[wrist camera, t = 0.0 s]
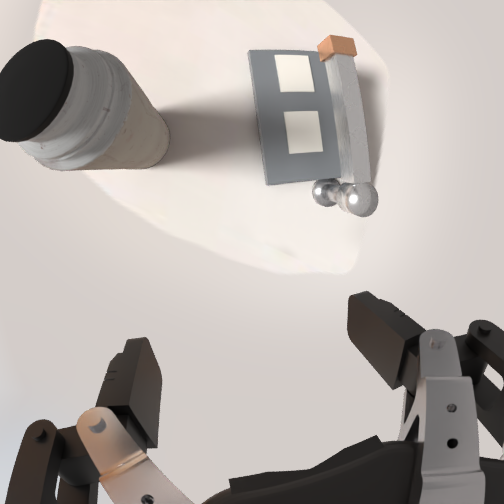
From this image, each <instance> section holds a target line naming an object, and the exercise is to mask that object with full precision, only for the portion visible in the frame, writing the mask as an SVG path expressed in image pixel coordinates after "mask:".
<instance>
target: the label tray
mask: <svg viewBox="0 0 504 504" xmlns="http://www.w3.org/2000/svg"><path fill="white" fill-rule="evenodd" d="M248 59H249V65H250V72H251V79H252V85H253V92H254V99H255V106H256V113H257V120H258V127H259V135H260V142H261V150H262V157H263V165H264V173H265V181H266V185H276V184H284V183H292V182H300V181H310V180H319V179H329V178H340V177H341V168H340V158H339V149H338V140H337V132H336V125H335V117H334V111H333V104H332V98H331V92H330V86H329V81H328V75H327V70H326V65H325V62H320V57H319V52H315V51H300V50H249V52H248Z"/></svg>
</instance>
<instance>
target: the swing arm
mask: <svg viewBox="0 0 504 504" xmlns="http://www.w3.org/2000/svg"><path fill="white" fill-rule="evenodd" d="M317 48H318V52H319V57H320V62H325V65H326V70H327V75H328V81H329V86H330V92H331V98H332V104H333V111H334V117H335V125H336V132H337V140H338V149H339V158H340V168H341V179H342V182H345V183H343V184H342V185H341V186H340V187H339V189H338V191H337V203H338V205H339V207H340V208H341V209H342V210H343V211H345V212H348V213H351V214H354V215H357V216H360V217H367V216H370V215H371V214H372V213H373V212H374V211H375V210H376V208H377V205H378V194H377V191H376V189H375V188H374V187H373V186H372V185H371V184H368V183H366V182H371V173H370V161H369V151H368V141H367V133H366V125H365V118H364V111H363V105H362V99H361V93H360V87H359V82H358V77H357V72H356V67H355V63H354V58H353V57H355V56H356V55H357V52H356V47H355V44H354V40H353V38H347V37H341V36H334V35H329V36H328V37H327V38H326V39H324V40H323V41H322V42H321V43H320V44H319V45H318V46H317Z"/></svg>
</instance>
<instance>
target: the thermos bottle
mask: <svg viewBox="0 0 504 504" xmlns="http://www.w3.org/2000/svg"><path fill="white" fill-rule="evenodd" d="M0 139H2V140H4V141H9V142H17V143H18V144H19V146H20V147H21V149H22V150H23V151H25V152H26V153H27V154H29V155H31V156H33V157H34V158H35V160H37V161H38V162H39V163H40V164H42V165H43V166H45V167H47V168H50V169H52V170H59V171H72V170H101V169H145V168H149V167H151V166H153V165H155V164H156V163H158V162H159V161H160V160H161V159H162V158H163V156H164V155H165V154H166V152H167V150H168V147H169V143H170V133H169V129H168V127H167V125H166V123H165V122H164V120H163V119H162V118H161V116H160V115H159V113H158V112H157V110H156V109H155V108H154V107H153V106H152V104H151V103H150V101H149V99H148V98H147V96H146V95H145V93H144V92H143V91H142V89H141V88H140V86H139V85H138V84H137V82H136V81H135V79H134V78H133V77H132V75H131V74H130V72H129V71H128V70H127V68H126V67H125V65H124V64H123V63H122V62H121V61H120V60H119V59H118V58H117V57H115V56H114V55H112V54H110V53H108V52H105V51H101V50H91V49H89V48H86V47H81V46H71V47H67V48H65V47H64V46H63V45H62V44H61V43H59V42H57V41H55V40H50V39H44V40H39V41H36V42H33V43H31V44H29V45H27V46H26V47H24V48H23V49H21V50H20V51H19V52H17V53H16V54H15V55H14V56H13V57H12V58H11V59H10V60H9V62H8V63H7V64H6V65H5V67H4V68H3V69H2V71H1V73H0Z"/></svg>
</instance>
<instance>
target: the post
mask: <svg viewBox="0 0 504 504" xmlns="http://www.w3.org/2000/svg"><path fill="white" fill-rule="evenodd" d="M339 187H340V185H339V183H338V182H337V181H336V180H335V179H334V178H329V179H319V180H317V181H316V182H315V184H314V186H313V190H312V194H313V197H314V199H315V201H316V202H317V203H318V204H320V205H322V206H325V207H330V206H333V205H335V204H336V203H337V191H338V189H339Z"/></svg>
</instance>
